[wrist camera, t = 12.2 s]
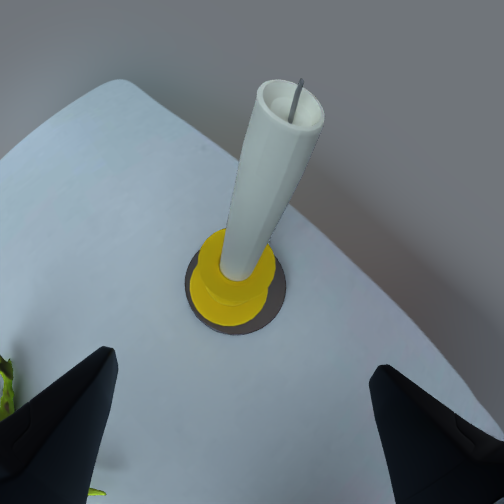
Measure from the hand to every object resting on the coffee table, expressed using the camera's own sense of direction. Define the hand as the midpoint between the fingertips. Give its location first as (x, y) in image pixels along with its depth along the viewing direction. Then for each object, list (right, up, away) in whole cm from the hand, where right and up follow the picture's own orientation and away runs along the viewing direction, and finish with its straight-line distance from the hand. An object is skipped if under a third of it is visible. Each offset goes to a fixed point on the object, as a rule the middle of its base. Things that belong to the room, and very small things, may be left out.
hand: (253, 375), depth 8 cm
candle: (-2, +1, +11) cm, 11 cm away
